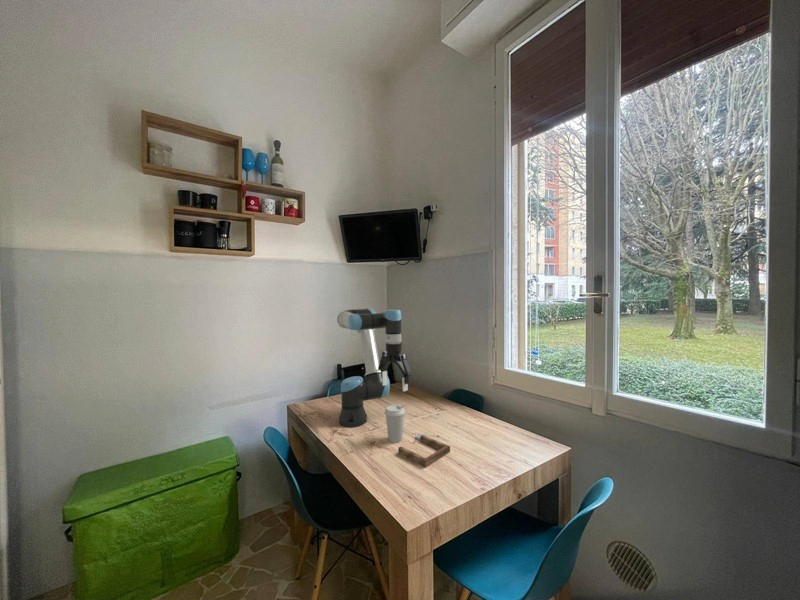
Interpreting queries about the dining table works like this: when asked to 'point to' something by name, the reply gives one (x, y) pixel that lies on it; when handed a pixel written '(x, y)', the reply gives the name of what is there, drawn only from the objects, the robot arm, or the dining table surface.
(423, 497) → the dining table surface
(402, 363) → the robot arm
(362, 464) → the dining table surface
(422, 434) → the slate tile
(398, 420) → the coffee cup
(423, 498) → the dining table surface
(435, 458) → the bracket
